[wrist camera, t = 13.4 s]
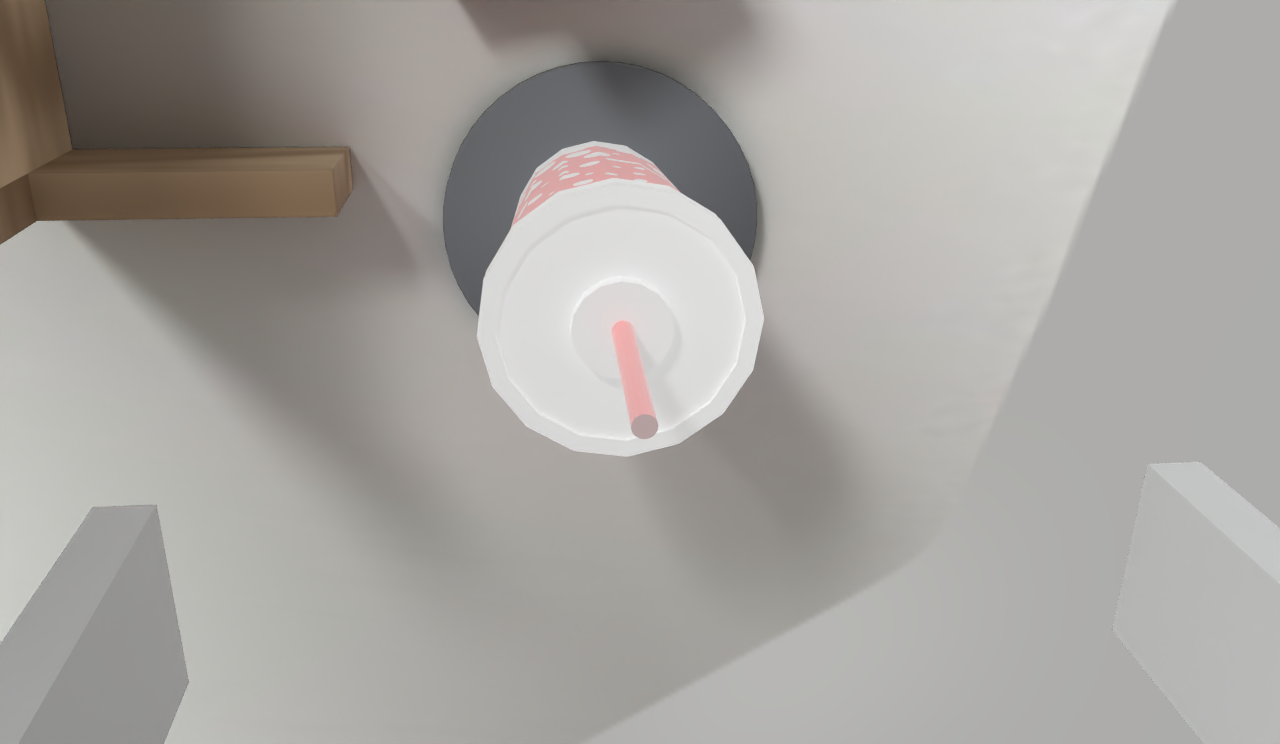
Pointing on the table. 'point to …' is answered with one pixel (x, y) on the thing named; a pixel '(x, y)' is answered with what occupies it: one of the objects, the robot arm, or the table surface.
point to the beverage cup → (617, 306)
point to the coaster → (580, 113)
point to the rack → (134, 157)
